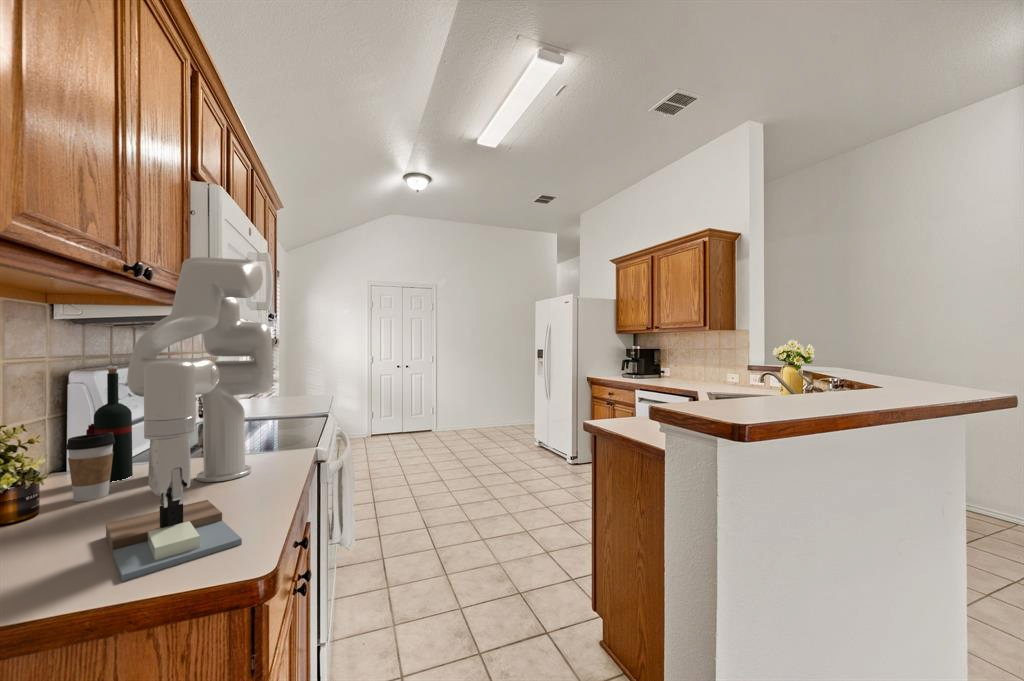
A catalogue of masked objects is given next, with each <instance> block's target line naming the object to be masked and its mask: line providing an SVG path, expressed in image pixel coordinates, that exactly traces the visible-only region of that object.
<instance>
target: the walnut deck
mask: <svg viewBox="0 0 1024 681" xmlns="http://www.w3.org/2000/svg"><path fill="white" fill-rule="evenodd" d="M188 521H190V522H191V524H192V525H193V527H194V528H197V527H201V526H204V525H208V524H212V523H215V522H219V521H223V512H222V511H221V510H220V509H218V507H216V506H215V505H214V504H213V503H212V502H211V501H209V500H208V499H204V500H200V501H197V502H192V503H188V504H187V503H186V504H183V523H184V522H188ZM160 528H161V527H160V510H158V511H157V510H156V511H153V512H149V513H144V514H141V515H136V516H132V517H128V518H127V517H126V518H124V519H120V520H115V521H112V522H106V523H105V538H106V540H107V544H108V545H109V546H108V547H109V549H110V552H111V556H113V550H116V549H119V548H123V547H127V546H130V545H134V544H138V543H141V542H145V541H148V531H152V530H156V529H160Z"/></svg>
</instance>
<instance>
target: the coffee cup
mask: <svg viewBox="0 0 1024 681" xmlns="http://www.w3.org/2000/svg"><path fill="white" fill-rule="evenodd" d="M114 443H115V439H114V435H113V432H108V433H99V434H90V435H86V434H85V435H77V436H72V437H70V438H68V439H67V443H66V445H65V447H66V448H65V450H67V451H68V458H67V459H68V460H67V461H68V468H69V475H70V481H71V486H72V487H71V488H72V496H73V497H72V498H73V501H74V502H75V501H77V502H78V503H81V502H82V503H83V501H84V502H91V501H95V500H101V499H103V498H105V497H107V496H108V495H109V492H110V484H111V483H110V476H111V467H112V459H113V452H112V449H113V444H114ZM77 502H76V503H77Z"/></svg>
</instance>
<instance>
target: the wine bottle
mask: <svg viewBox="0 0 1024 681" xmlns="http://www.w3.org/2000/svg"><path fill="white" fill-rule="evenodd" d="M107 371H108V373H107V374H106V377H107V381H106V383H107V385H106V386H107V388H106V389H107V392H106V393H107V398H106V399H107V401H106V402H107V403H105V404H103V405H101V406H100V407H98V408H97V410H95V412H94V414H93V423H91V424H88V425H87V429H86V432H85V433H86V434H85V435H90V434H99V433H108V432H113V435H114V439H115V443H114V444H113V449H112V452H113V459H112V467H111V476H110V482H112V481H117V480H122V479H126V478H128V477H130V476H132V475H133V473H134V472H133V471H134V470H133V421H132V420H133V419H132V418H133V417H132V416H133V415H132V413H133V412H132V411H131V409H130V408H129V406H127V405H125V404H123V403H120V402H119V372H118V368H107Z"/></svg>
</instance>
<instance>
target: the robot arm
mask: <svg viewBox="0 0 1024 681" xmlns="http://www.w3.org/2000/svg"><path fill="white" fill-rule="evenodd" d="M263 276H264V274H263V270H262V267H261V266H260V264H259V262H257V261H255V260H253V259H243V258H241V259H239V258H227V257H226V258H223V257H212V256H211V257H209V256H208V257H207V256H200V257H190V258H186V259H185V260H184V261H183V262H182V263H181V269H180V272H179V276H178V281H177V286H176V290H175V294H174V299H173V303H172V309H171V312H170V314H168V315H167V316H166V317H163V318H161V319H160V320H159V321H158V322H155V324H153V325H152V326H150V328H148V329H146V331H145V332H144V333H143V334H141V336H140V337H139V338H138V340H137V341H136V343H135V345H134V347H133V350H132V354H131V357H130V361H129V364H128V368H127V377H126V381H127V387H128V389H129V391H130V392H131V393H132V394H134V395H136V396H138V397H143V433H144V434H143V435H144V436H143V439H145V440H150V441H149V450H148V476H147V477H148V478H147V479H148V481H147V483H148V484H147V485H148V487H149V489H150V490H151V491H152V493H153V494H155V495H156V496H159V503H160V506H159V511H160V527H161V528H164V527H168V526H172V525H176V524H180V523H183V505H184V502H183V501H184V498H183V497H184V490H188V489H189V488H190V487H191V481H192V476H191V475H192V474H191V473H192V472H191V468H192V467H191V466H192V465H191V459H192V458H191V442H190V441H191V440H190V436H191V435H194V434H196V433H197V397H196V396H198V395H201V399H202V400H201V401H202V418H203V419H202V421H203V422H202V425H203V426H202V427H203V428H202V430H203V431H202V432H203V433H202V434H203V436H202V438H203V440H202V442H203V451H202V452H203V471H200V472H199V473H197V474H196V481H198V482H201V483H214V482H215V483H216V482H218V483H219V482H223V481H224V482H226V481H230V480H234V479H239V478H243V477H245V476H246V475H249V474H250V473H252V466H250V465H247V464H246V453H245V452H246V443H245V442H246V440H245V439H246V438H245V437H246V431H245V430H246V427H245V425H246V424H245V423H246V422H245V420H246V419H245V416H246V415H245V408H244V406H243V405H242V403H241V402H239V400H237V399H236V398H235V396H239V395H240V396H241V395H242V396H243V395H257V394H258V395H259V394H266V393H268V392H269V391H270V390H271V389H272V387H273V384H274V366H273V364H274V362H273V339H272V333H271V329H270V328H269V327H268V326H269V325H267V324H265V323H263V322H258V321H257V322H255V321H254V322H253V321H249V322H248V321H241V314H240V303H239V301H238V300H237V299H250V298H251V297H253V296H254V295H256V293H257V292H259V290H260V289H261V287H262V284H263V281H264V279H263ZM200 335H202V337H203V338H202V339H203V345H204V346H203V348H204V350H205V351H206V354H208V355H210V356H213V357H222V358H223V357H251V358H252V359H253V360H216V361H212V360H210V359H208V358H204V357H188V358H186V357H184V358H183V357H174V358H173V357H172V358H171V357H169V358H167V357H166V358H165V357H163V358H157V357H158V356H159V355H160V354H161V352H163V351H164V350H165V349H167V348H169V347H170V346H172V345H174V344H176V343H179V342H181V341H184V340H187V339H190V338H193V337H196V336H200Z"/></svg>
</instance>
